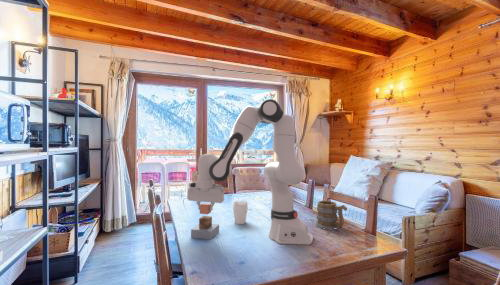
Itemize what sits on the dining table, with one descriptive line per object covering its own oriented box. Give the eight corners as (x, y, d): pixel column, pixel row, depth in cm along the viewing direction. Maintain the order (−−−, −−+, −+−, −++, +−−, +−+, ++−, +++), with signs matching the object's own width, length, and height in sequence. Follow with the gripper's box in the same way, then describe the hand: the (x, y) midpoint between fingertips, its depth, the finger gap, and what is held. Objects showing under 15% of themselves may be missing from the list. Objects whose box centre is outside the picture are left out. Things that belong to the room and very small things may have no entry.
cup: (239, 219, 152) (239, 200, 152) (250, 221, 147) (250, 202, 147) (229, 222, 145) (230, 203, 145) (241, 225, 139) (241, 205, 139)
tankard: (311, 224, 143) (311, 199, 143) (326, 221, 148) (326, 197, 149) (337, 235, 125) (337, 207, 125) (353, 232, 131) (353, 204, 131)
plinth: (219, 231, 129) (219, 224, 129) (210, 239, 119) (210, 231, 119) (200, 229, 132) (200, 222, 132) (191, 237, 122) (191, 229, 122)
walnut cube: (211, 225, 127) (211, 216, 127) (207, 228, 122) (207, 219, 122) (203, 224, 128) (203, 215, 129) (199, 228, 124) (199, 218, 124)
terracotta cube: (211, 212, 127) (211, 203, 127) (207, 214, 123) (207, 205, 123) (203, 211, 128) (203, 203, 128) (199, 213, 124) (199, 205, 124)
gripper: (226, 184, 126) (225, 210, 126) (191, 182, 132) (191, 207, 131) (221, 185, 120) (221, 213, 120) (186, 183, 125) (185, 209, 125)
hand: (205, 209), depth 126 cm, fingers closed on terracotta cube, 4 cm apart
